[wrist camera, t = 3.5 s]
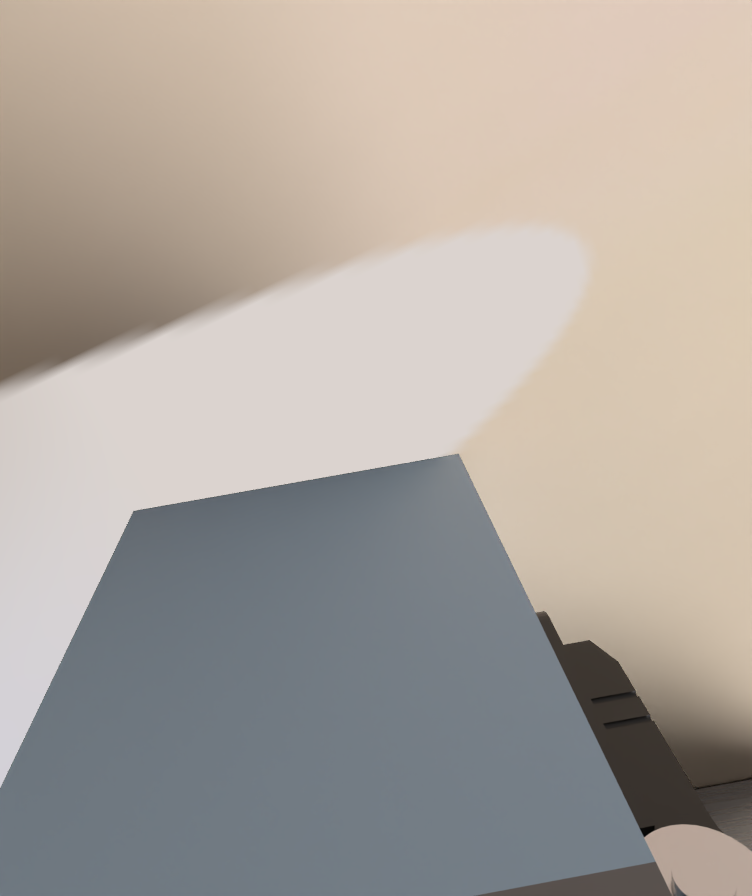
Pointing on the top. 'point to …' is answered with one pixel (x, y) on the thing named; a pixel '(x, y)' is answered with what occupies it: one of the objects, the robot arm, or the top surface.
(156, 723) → the grey lidded box
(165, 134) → the top surface
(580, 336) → the top surface
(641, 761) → the robot arm
